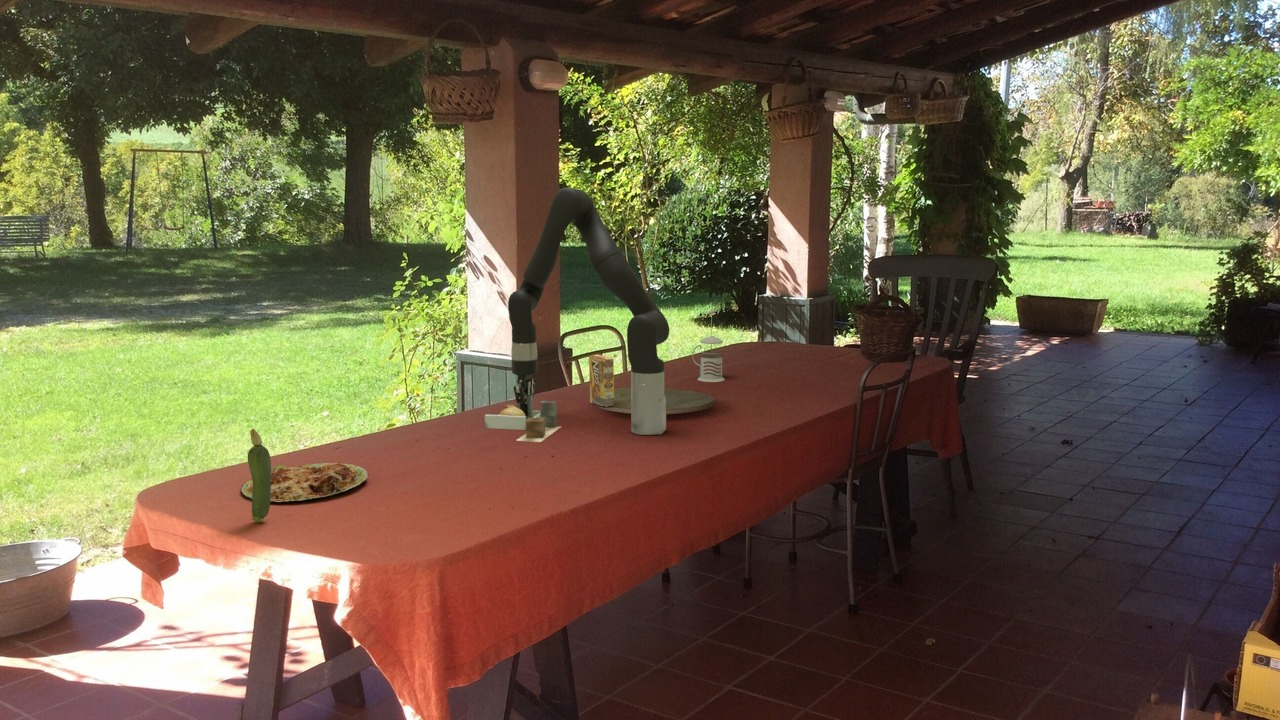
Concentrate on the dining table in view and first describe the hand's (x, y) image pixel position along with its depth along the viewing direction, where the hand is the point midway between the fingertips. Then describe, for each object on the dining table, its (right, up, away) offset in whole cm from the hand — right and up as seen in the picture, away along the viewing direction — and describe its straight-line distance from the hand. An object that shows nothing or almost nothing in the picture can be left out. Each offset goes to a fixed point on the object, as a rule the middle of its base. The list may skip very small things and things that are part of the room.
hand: (525, 415), depth 300 cm
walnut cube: (+5, -4, -25) cm, 26 cm away
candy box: (+22, +2, +20) cm, 30 cm away
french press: (+58, +9, +62) cm, 85 cm away
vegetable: (-44, -17, -91) cm, 103 cm away
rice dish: (-43, -13, -66) cm, 80 cm away
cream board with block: (+6, -5, -22) cm, 23 cm away
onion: (-3, -4, -12) cm, 12 cm away
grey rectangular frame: (-2, -3, -8) cm, 8 cm away
